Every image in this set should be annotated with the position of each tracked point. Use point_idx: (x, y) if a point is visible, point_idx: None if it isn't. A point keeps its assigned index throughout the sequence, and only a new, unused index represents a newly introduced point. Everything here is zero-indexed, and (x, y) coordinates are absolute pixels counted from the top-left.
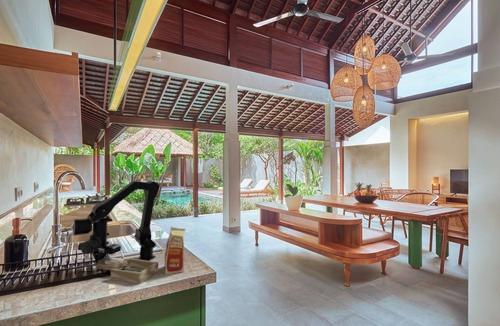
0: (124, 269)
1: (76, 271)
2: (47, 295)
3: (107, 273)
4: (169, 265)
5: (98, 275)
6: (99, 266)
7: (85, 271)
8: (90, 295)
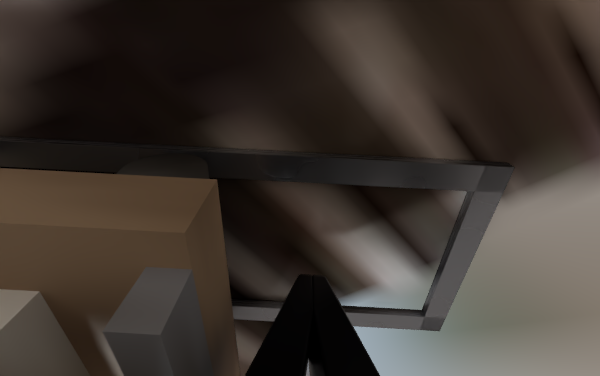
0: None
1: (595, 117)
2: None
3: None
4: None
5: (131, 81)
6: (109, 197)
7: (441, 153)
8: None
